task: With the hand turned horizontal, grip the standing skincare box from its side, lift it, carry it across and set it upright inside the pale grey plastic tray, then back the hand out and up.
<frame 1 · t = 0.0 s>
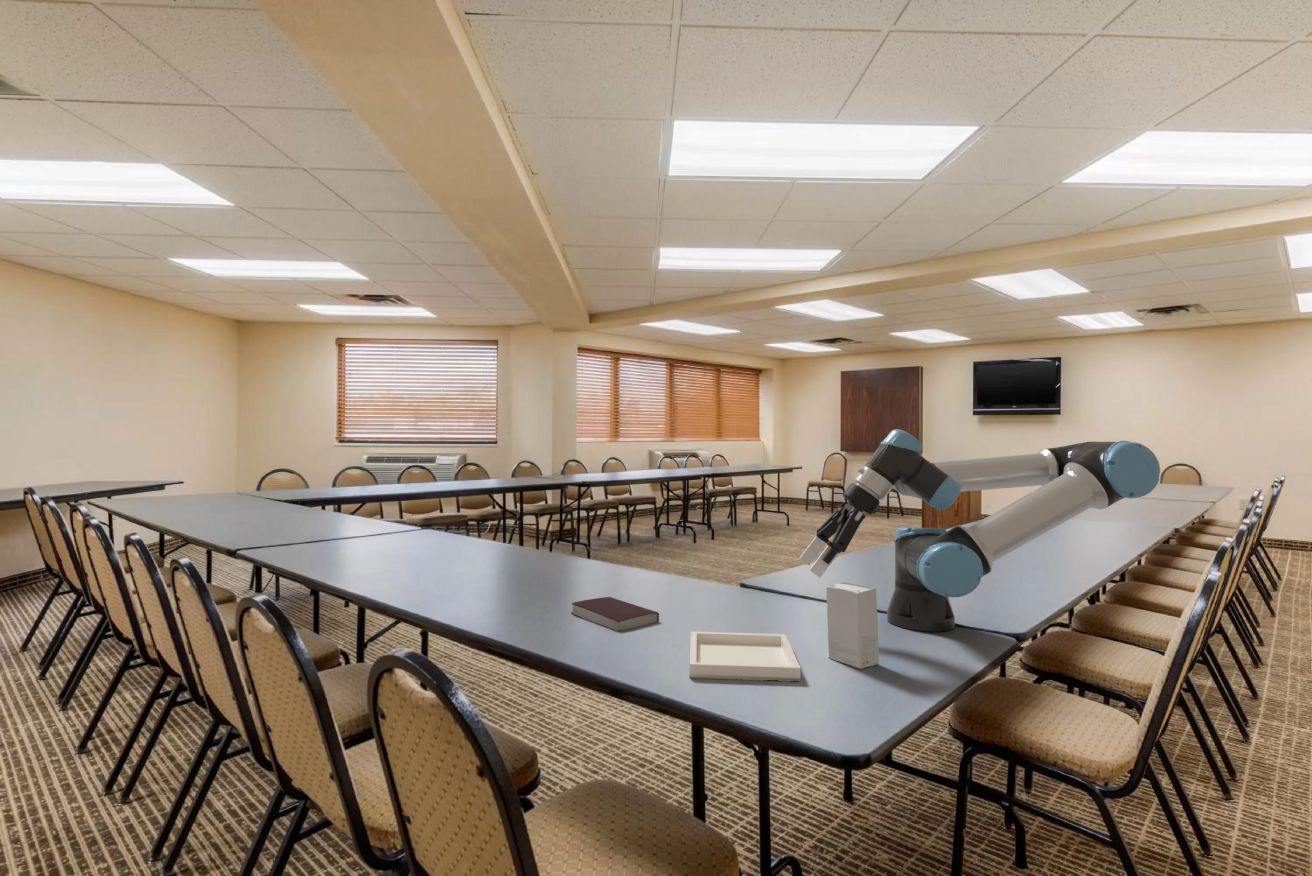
hand: (809, 567, 142), 15 cm above the table, tool tilted 35°, fingers open, 13 cm apart
skincare box: (852, 662, 126), on the table
book: (614, 620, 155), on the table
tray: (740, 660, 125), on the table
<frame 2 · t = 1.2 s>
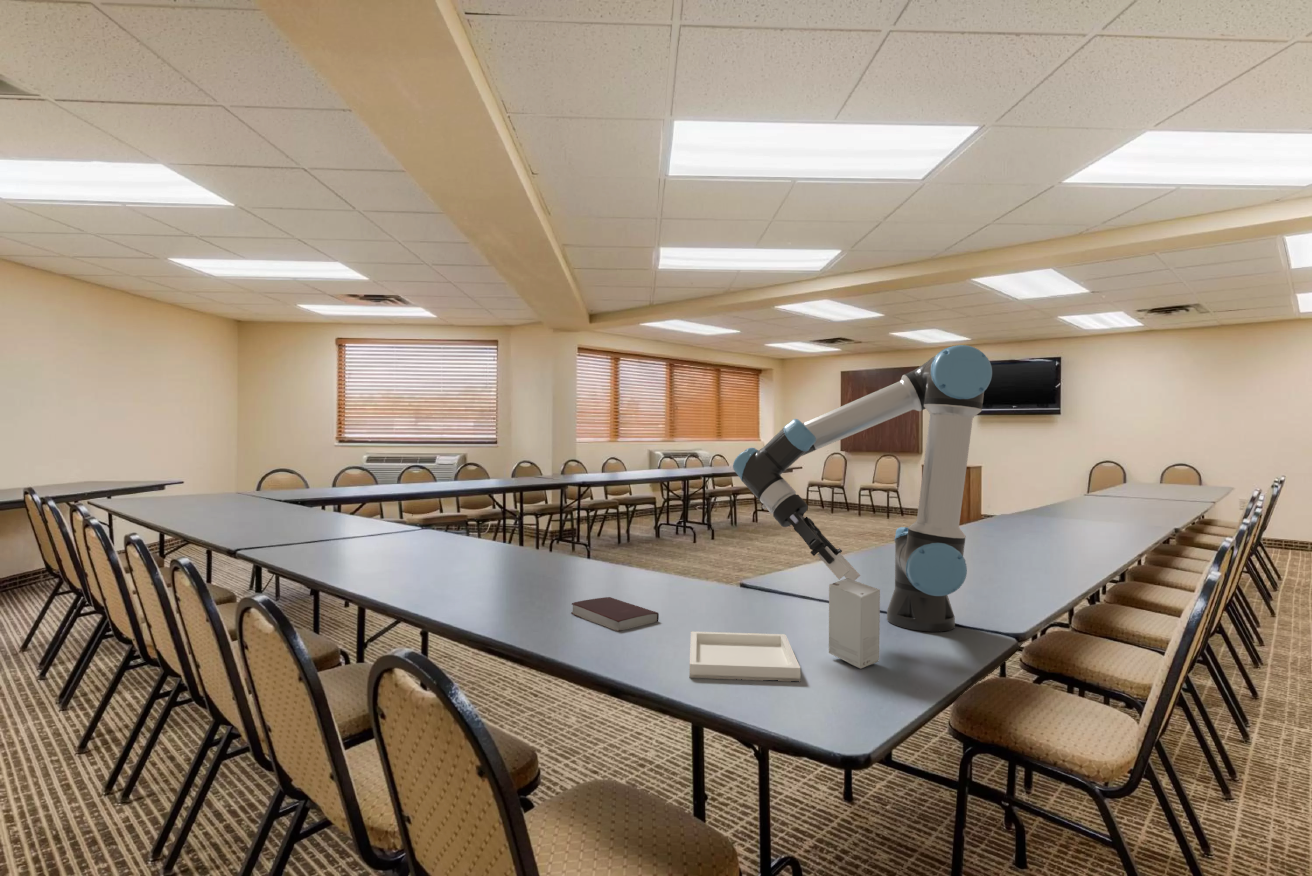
hand: (850, 577, 134), 15 cm above the table, tool tilted 50°, fingers open, 13 cm apart
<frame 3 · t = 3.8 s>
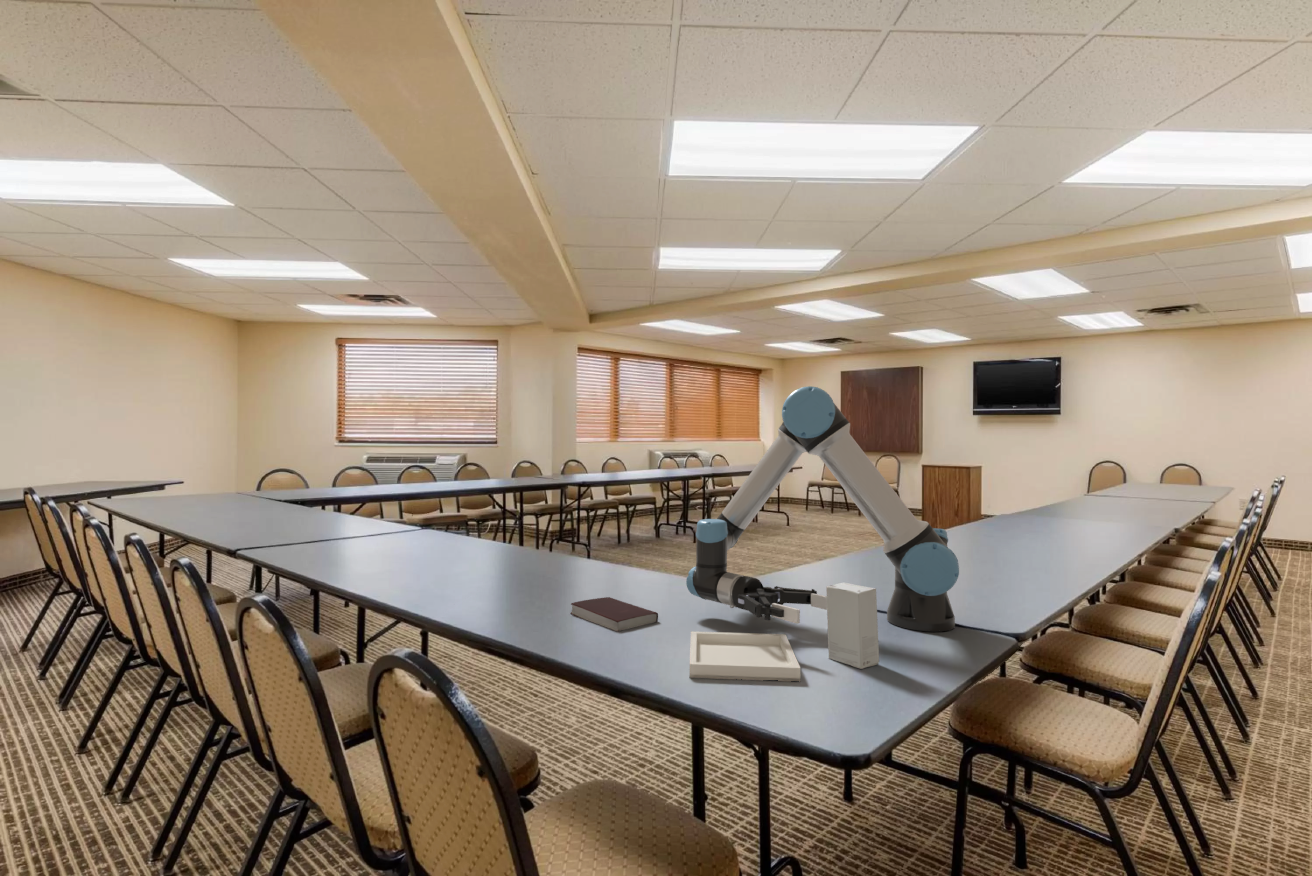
hand: (818, 610, 131), 8 cm above the table, tool horizontal, fingers open, 13 cm apart
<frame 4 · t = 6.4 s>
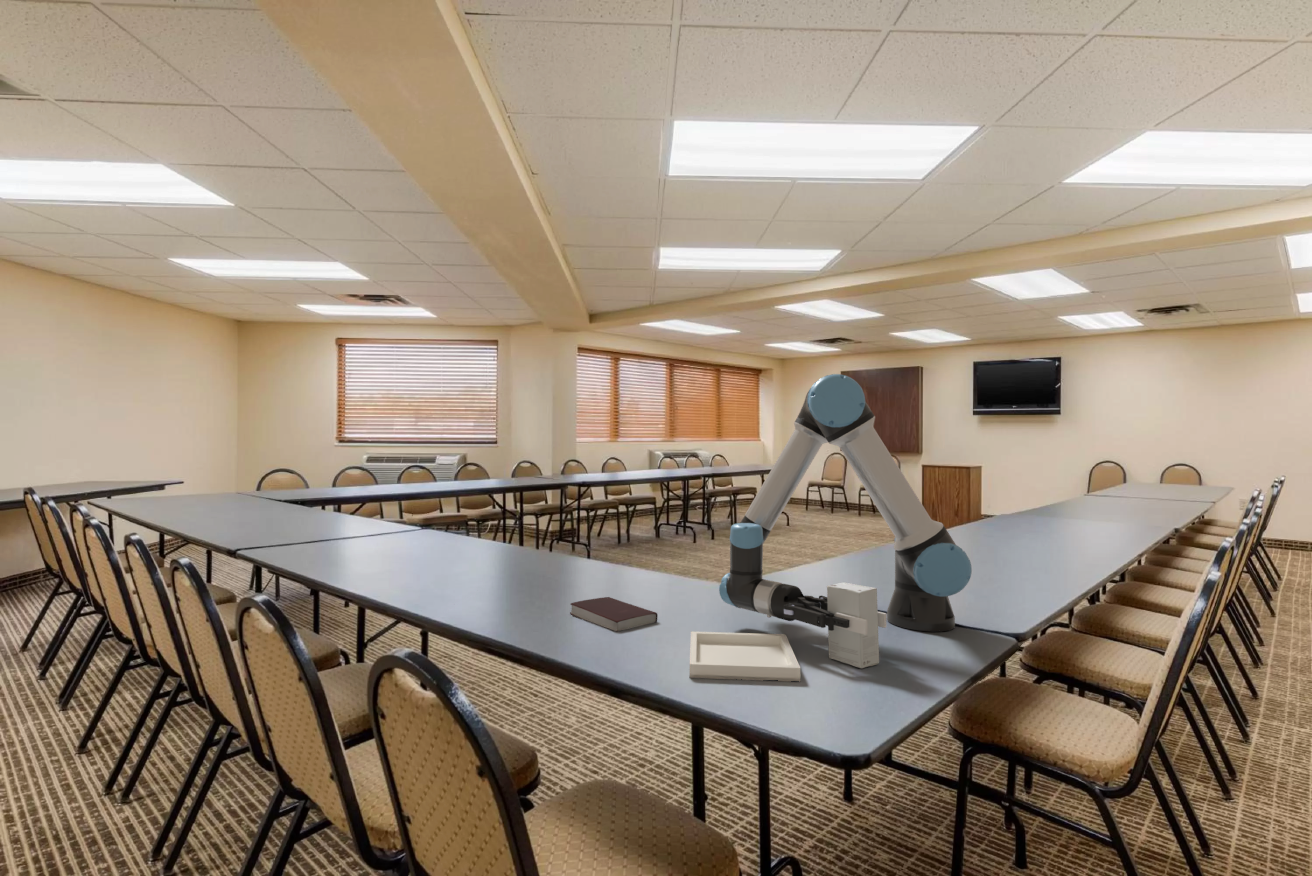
hand: (875, 623, 122), 9 cm above the table, tool horizontal, fingers closed on skincare box, 6 cm apart
skincare box: (852, 662, 126), on the table, touching gripper
everything else where it was.
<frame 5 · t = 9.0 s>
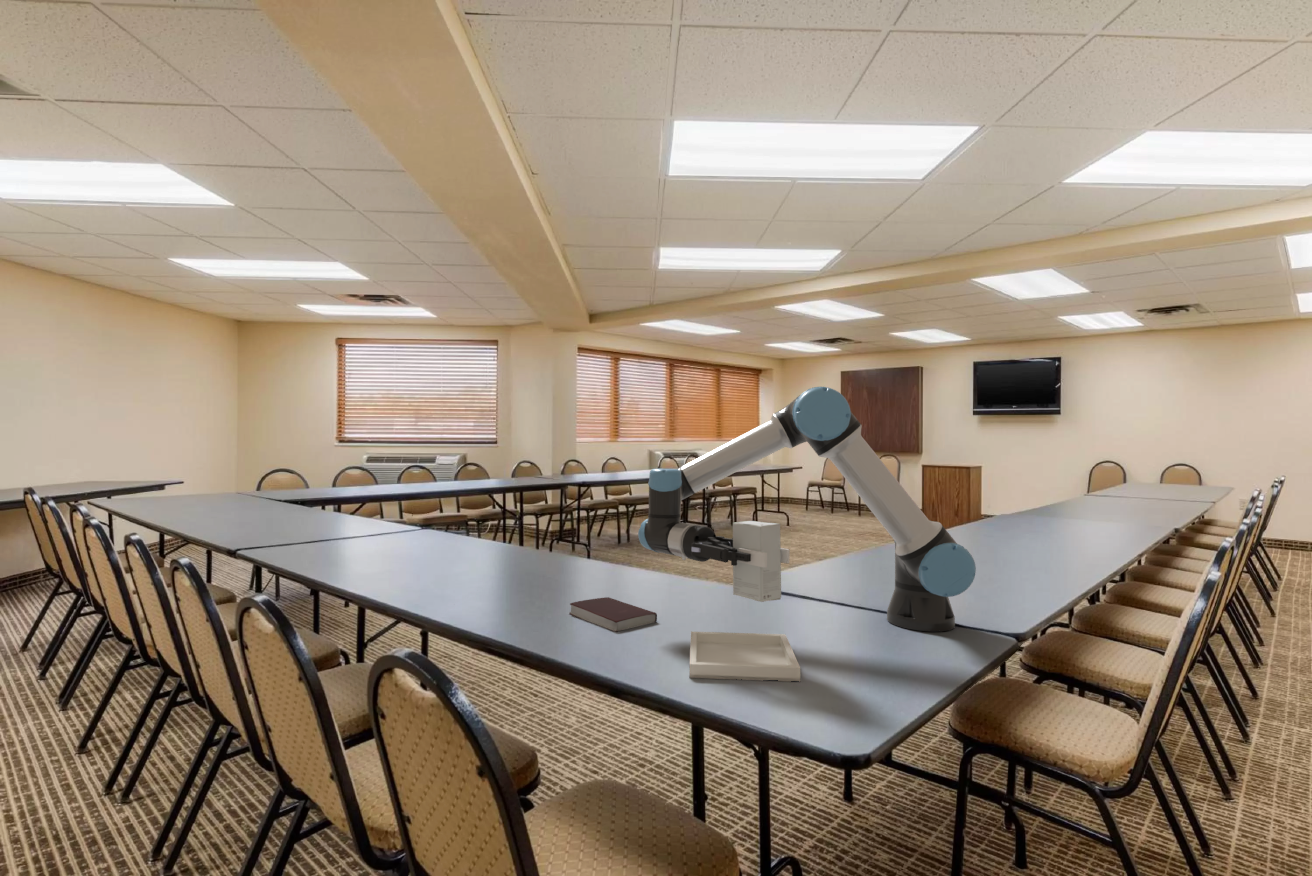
hand: (777, 558, 122), 21 cm above the table, tool horizontal, fingers closed on skincare box, 6 cm apart
skincare box: (755, 598, 126), point 12 cm above the table, touching gripper
everything else where it was.
when the fingers open (11 cm above the table, at t = 11.8 s): skincare box drops 1 cm, resting on tray.
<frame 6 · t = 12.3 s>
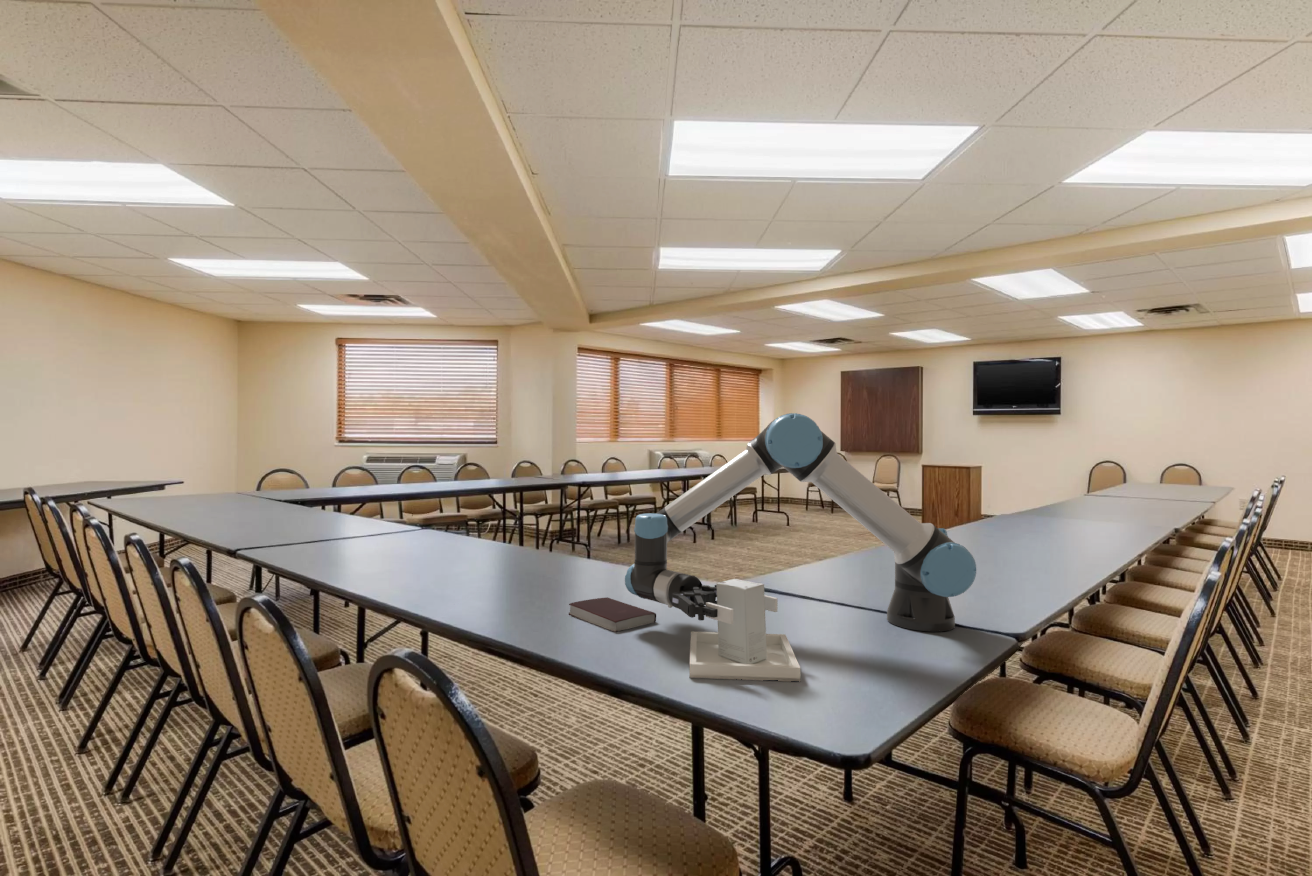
hand: (755, 610, 123), 11 cm above the table, tool horizontal, fingers open, 12 cm apart
skincare box: (740, 658, 125), resting on tray
everything else where it was.
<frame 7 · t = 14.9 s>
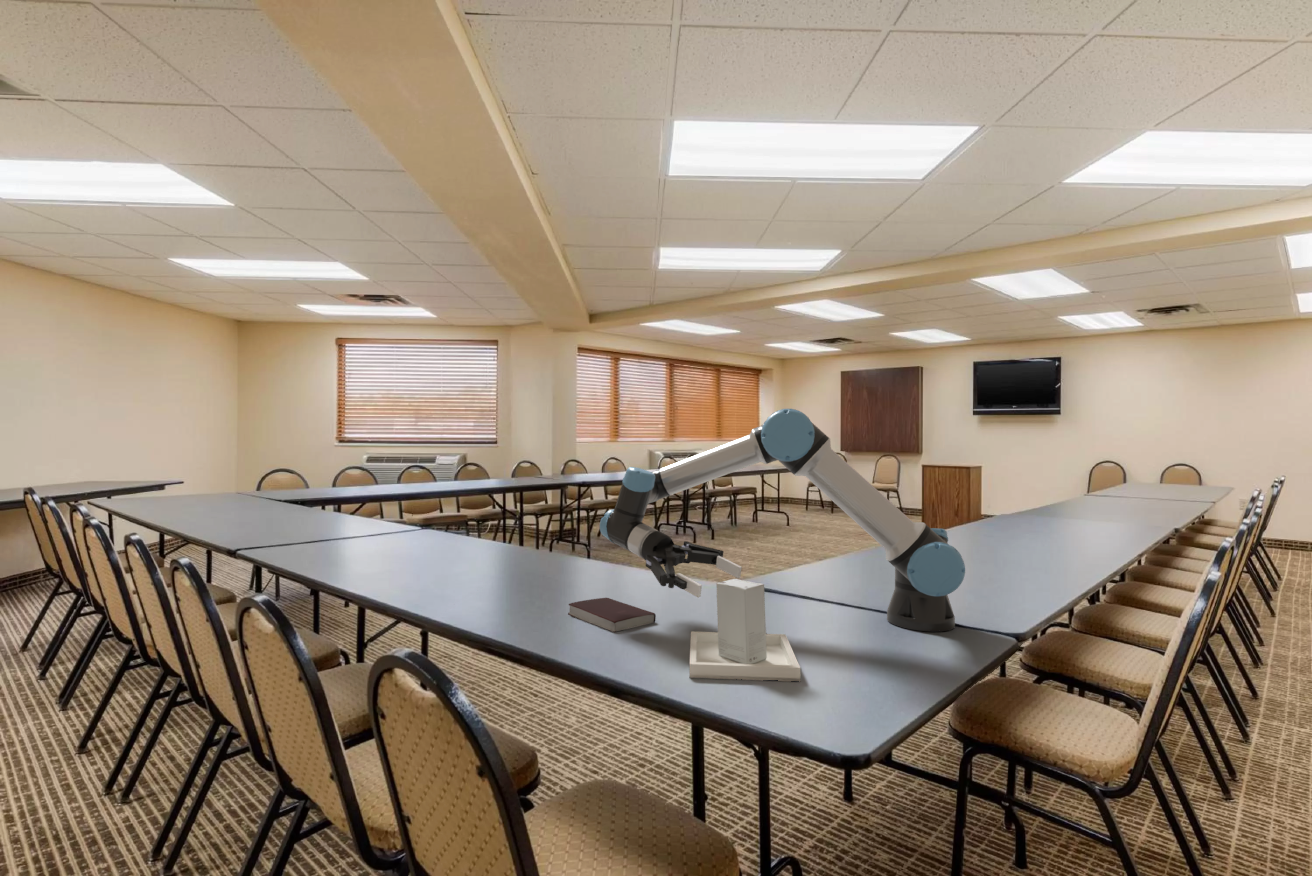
hand: (720, 581, 136), 13 cm above the table, tool horizontal, fingers open, 13 cm apart
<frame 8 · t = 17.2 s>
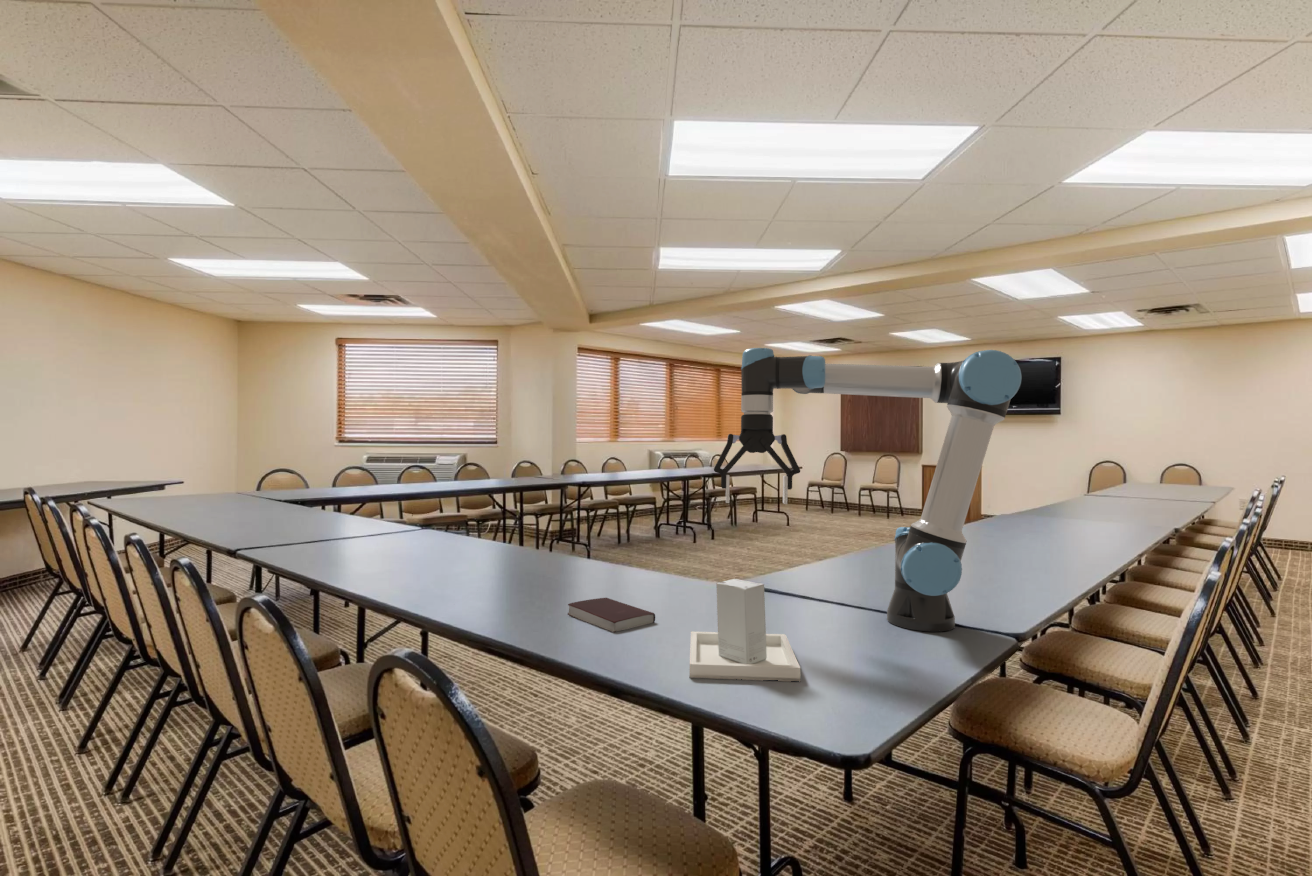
hand: (756, 503, 151), 29 cm above the table, tool pointing down, fingers open, 13 cm apart
at the end: skincare box inside the target area on the tray (0.0 cm from its centre), point 0.4 cm above the tray's base; skincare box tilted 0°; the gripper is holding nothing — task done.
